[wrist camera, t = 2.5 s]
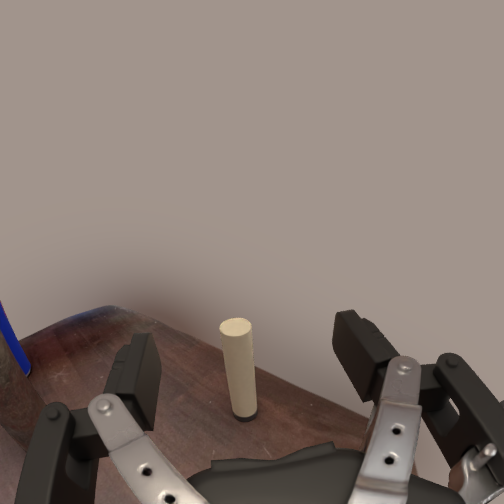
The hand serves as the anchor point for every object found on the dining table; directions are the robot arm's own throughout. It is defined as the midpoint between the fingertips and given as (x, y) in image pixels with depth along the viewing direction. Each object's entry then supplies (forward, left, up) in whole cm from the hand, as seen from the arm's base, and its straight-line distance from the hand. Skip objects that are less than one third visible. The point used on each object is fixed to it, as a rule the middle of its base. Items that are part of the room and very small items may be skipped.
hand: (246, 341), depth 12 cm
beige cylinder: (-3, -11, -20) cm, 23 cm away
